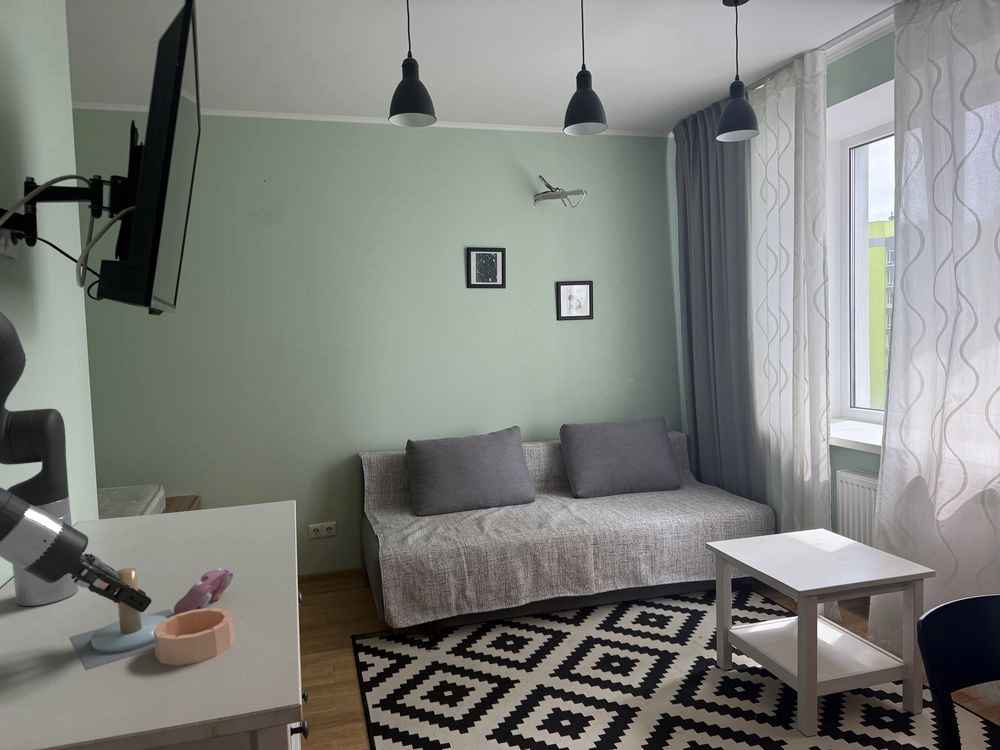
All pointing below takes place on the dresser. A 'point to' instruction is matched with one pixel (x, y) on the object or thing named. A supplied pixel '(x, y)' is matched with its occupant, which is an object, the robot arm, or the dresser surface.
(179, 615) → the bowl
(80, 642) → the mat
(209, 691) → the dresser surface
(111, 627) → the lid
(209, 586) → the video game controller
